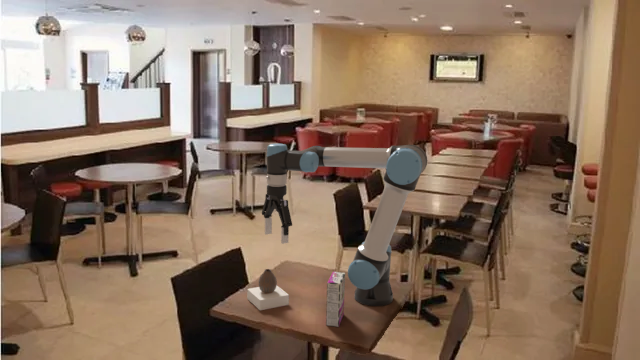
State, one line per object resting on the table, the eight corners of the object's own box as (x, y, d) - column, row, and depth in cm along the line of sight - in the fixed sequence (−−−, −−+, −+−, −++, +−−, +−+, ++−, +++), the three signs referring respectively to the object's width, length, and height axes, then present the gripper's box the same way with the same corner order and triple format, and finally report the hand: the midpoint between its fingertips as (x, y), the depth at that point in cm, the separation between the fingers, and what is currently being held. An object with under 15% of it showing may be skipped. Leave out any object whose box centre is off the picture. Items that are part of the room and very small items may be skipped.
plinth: (288, 304, 221) (288, 294, 220) (259, 310, 215) (259, 300, 214) (275, 293, 231) (275, 284, 230) (247, 298, 225) (247, 288, 224)
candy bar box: (330, 312, 215) (332, 271, 212) (344, 314, 214) (345, 272, 211) (324, 325, 204) (326, 282, 201) (338, 327, 203) (340, 283, 200)
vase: (279, 289, 225) (279, 268, 223) (272, 296, 218) (272, 274, 216) (262, 287, 227) (263, 265, 225) (255, 293, 220) (255, 271, 218)
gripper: (253, 179, 228) (253, 231, 232) (283, 191, 207) (283, 248, 212) (270, 178, 232) (270, 229, 236) (301, 189, 211) (301, 245, 216)
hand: (276, 238), depth 224 cm, fingers open, 13 cm apart
